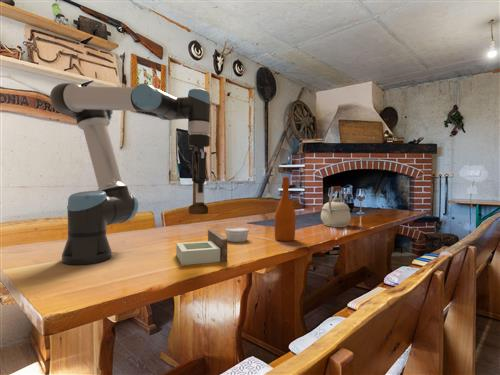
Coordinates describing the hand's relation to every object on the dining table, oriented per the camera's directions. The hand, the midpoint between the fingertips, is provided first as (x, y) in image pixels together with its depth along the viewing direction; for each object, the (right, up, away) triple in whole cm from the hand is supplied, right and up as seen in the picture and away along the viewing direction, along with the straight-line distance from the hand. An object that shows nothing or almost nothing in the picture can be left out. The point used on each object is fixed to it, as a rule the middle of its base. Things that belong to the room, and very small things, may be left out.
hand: (198, 201), depth 104 cm
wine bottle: (+35, -20, +37) cm, 55 cm away
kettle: (+72, -19, +83) cm, 111 cm away
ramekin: (+12, -20, +35) cm, 42 cm away
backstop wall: (+6, -20, +6) cm, 22 cm away
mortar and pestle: (0, -4, 0) cm, 4 cm away
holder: (0, -20, +1) cm, 20 cm away
